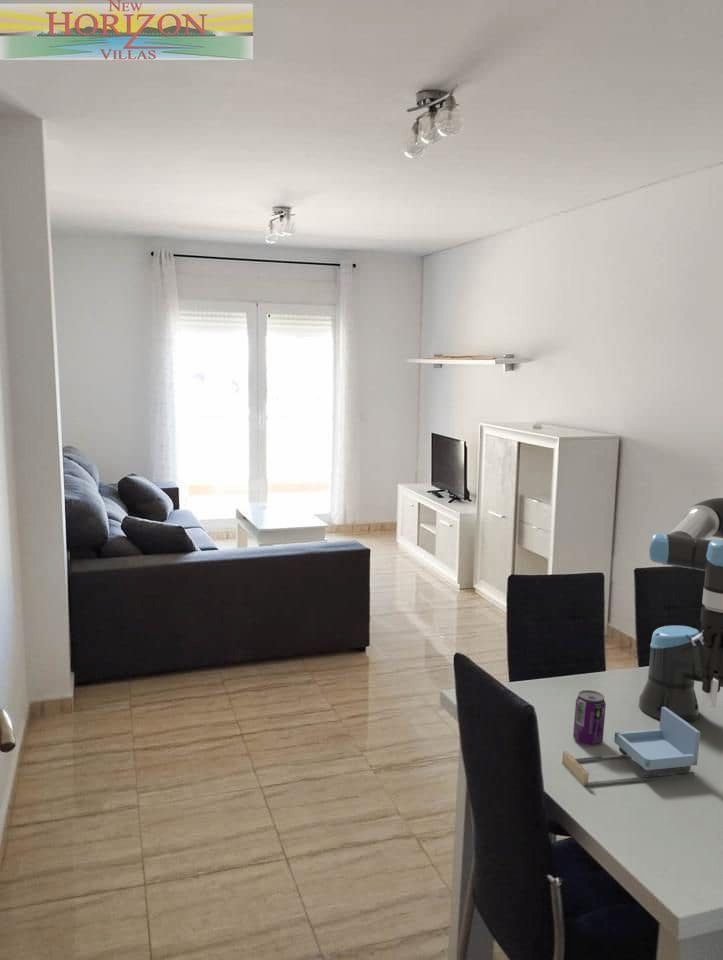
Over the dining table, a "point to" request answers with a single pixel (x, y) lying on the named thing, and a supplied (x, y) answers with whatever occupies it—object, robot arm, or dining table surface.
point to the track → (583, 779)
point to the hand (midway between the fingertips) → (709, 704)
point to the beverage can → (589, 717)
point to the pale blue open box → (662, 744)
